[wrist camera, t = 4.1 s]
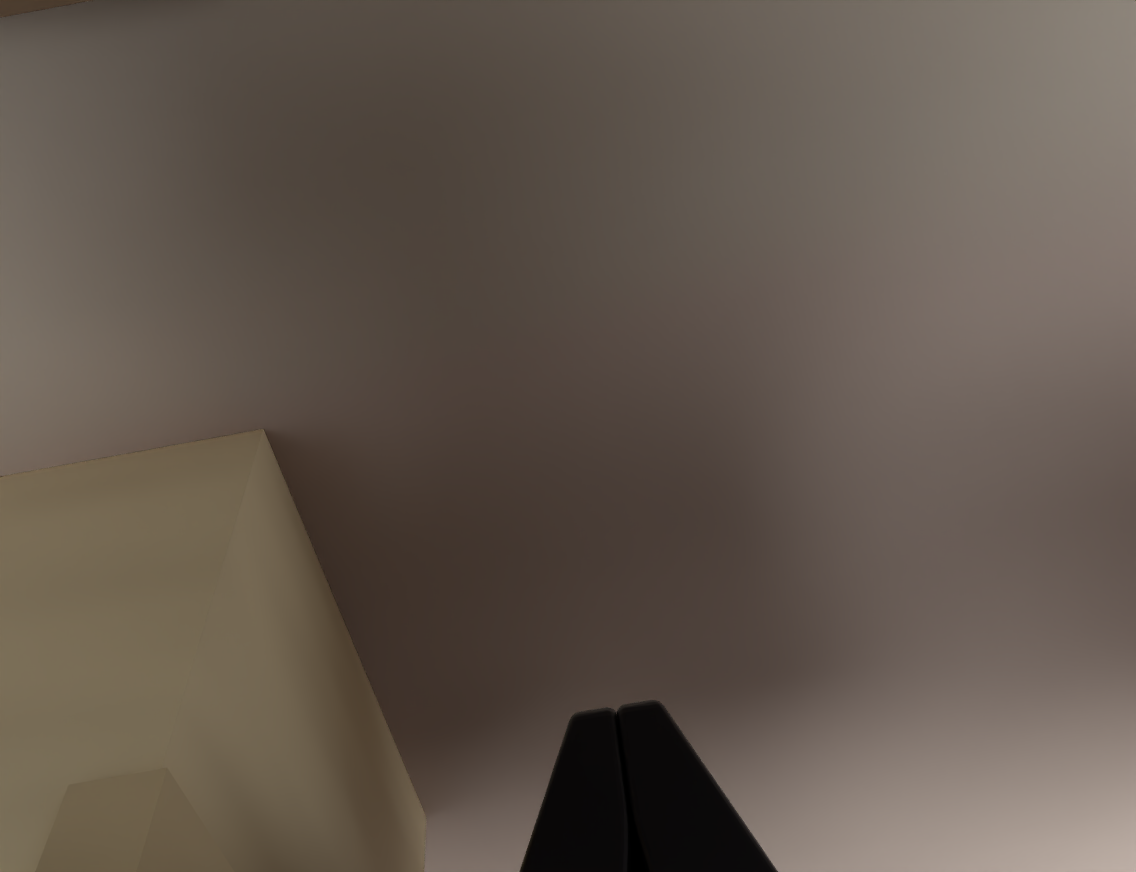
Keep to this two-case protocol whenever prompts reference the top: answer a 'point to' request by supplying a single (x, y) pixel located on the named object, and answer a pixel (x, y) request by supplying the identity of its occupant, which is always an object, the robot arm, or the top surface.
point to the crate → (184, 678)
